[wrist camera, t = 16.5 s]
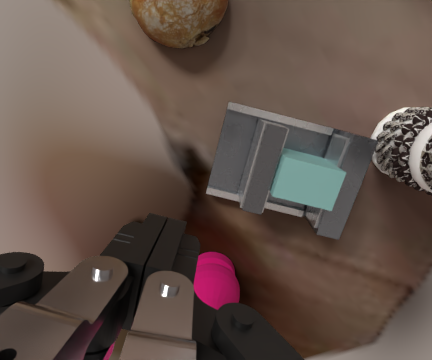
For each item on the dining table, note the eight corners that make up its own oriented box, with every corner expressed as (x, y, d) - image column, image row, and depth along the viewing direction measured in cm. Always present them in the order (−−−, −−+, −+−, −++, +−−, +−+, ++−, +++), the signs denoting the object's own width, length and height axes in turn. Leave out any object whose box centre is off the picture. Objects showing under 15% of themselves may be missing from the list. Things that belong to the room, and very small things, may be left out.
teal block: (263, 177, 35) (272, 196, 28) (273, 145, 34) (284, 156, 27) (311, 189, 35) (331, 211, 29) (322, 157, 34) (346, 172, 28)
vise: (207, 188, 37) (203, 206, 31) (229, 101, 34) (229, 102, 28) (320, 216, 38) (338, 239, 32) (351, 132, 35) (378, 140, 29)
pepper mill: (177, 258, 40) (132, 407, 21) (225, 240, 39) (226, 378, 20) (199, 300, 42) (176, 473, 23) (246, 283, 41) (264, 449, 22)
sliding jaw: (237, 192, 35) (239, 209, 30) (258, 118, 33) (265, 122, 28) (257, 197, 36) (263, 215, 30) (280, 124, 33) (290, 129, 28)
